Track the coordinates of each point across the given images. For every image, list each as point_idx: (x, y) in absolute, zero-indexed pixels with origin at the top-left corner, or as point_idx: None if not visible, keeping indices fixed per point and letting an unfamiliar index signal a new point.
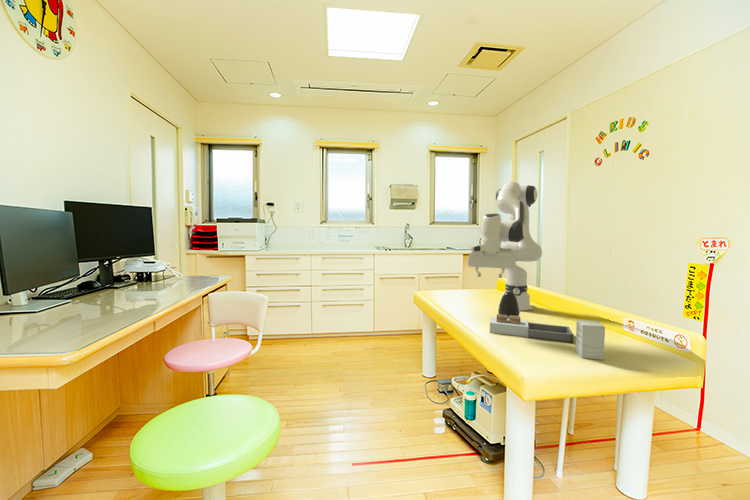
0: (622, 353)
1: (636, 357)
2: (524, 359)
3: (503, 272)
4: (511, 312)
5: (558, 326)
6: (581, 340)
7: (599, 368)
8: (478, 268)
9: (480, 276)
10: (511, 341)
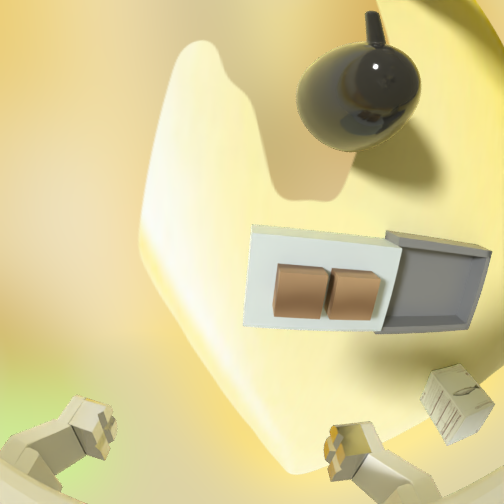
0: (495, 341)
1: (499, 351)
2: (306, 443)
3: (385, 491)
4: (361, 149)
5: (472, 255)
6: (434, 420)
7: (417, 424)
8: (52, 483)
9: (114, 429)
10: (305, 367)
